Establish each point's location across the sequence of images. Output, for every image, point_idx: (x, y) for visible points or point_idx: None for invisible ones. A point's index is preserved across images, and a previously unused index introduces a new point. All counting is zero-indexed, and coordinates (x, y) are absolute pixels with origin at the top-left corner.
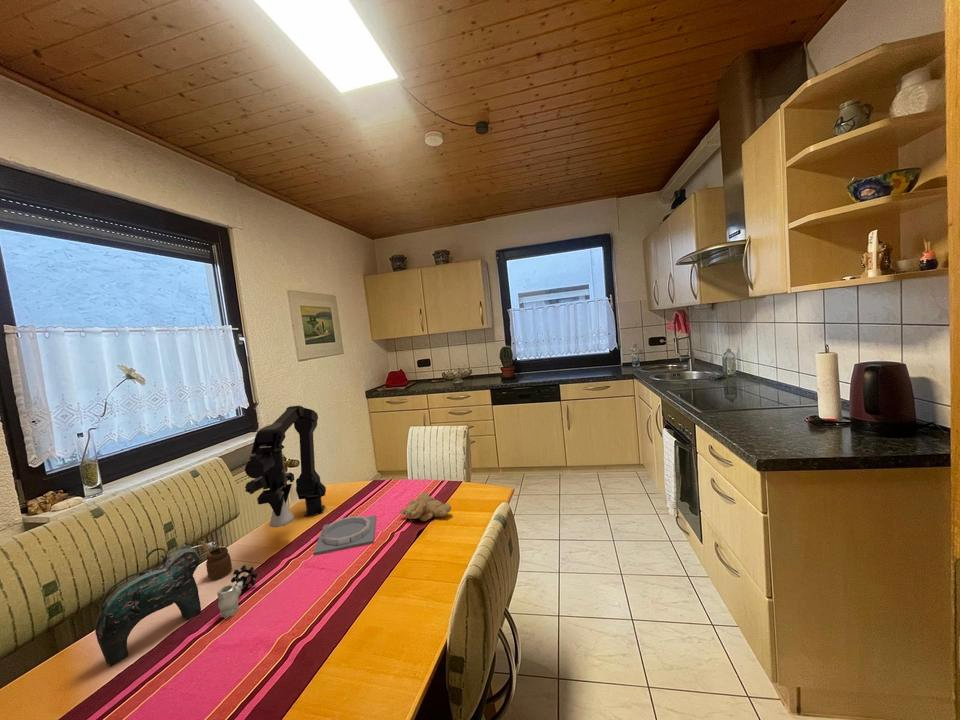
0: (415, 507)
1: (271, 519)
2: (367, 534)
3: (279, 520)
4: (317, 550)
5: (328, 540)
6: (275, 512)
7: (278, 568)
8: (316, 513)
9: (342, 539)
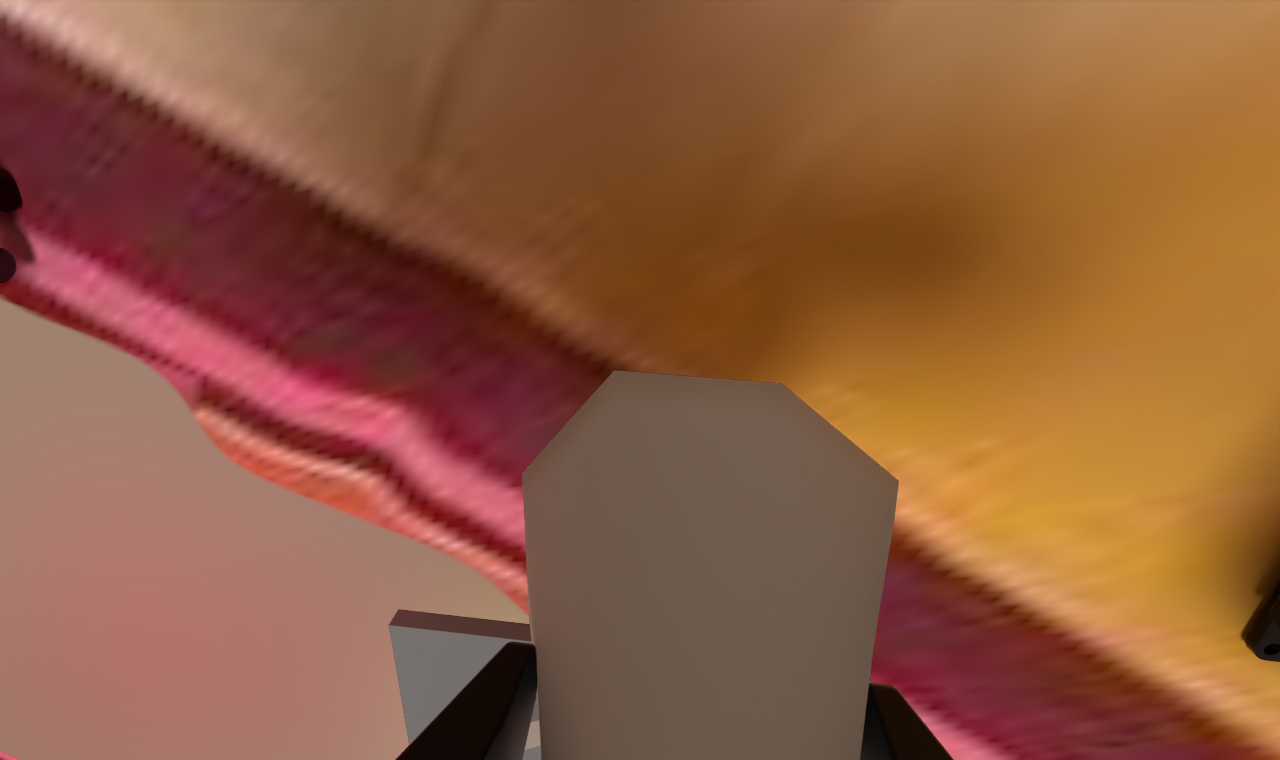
0: None
1: (598, 487)
2: None
3: (529, 601)
4: (414, 648)
5: None
6: (440, 730)
7: (269, 393)
8: (1273, 612)
9: None
